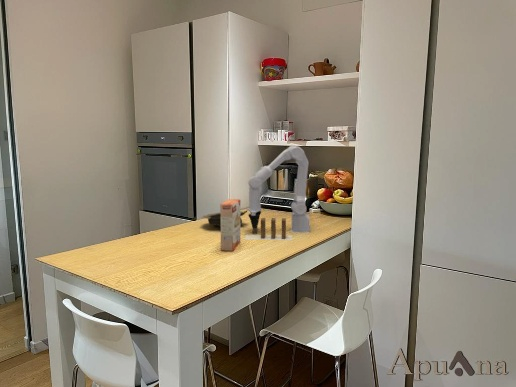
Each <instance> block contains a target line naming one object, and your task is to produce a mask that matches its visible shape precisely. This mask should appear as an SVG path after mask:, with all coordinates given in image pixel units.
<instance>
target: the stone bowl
mask: <svg viewBox="0 0 516 387" xmlns="http://www.w3.org/2000/svg"><path fill="white" fill-rule="evenodd" d="M247 212H248V211H247V210H245V211H241V210H240V226H241V224H242V223H243V219H242V217H243V216H244V215H246V213H247ZM201 218H203V219H207V221H208V224H210V225H212V226H219V227H221V213H220V212H216V213H209V214H207V215H206V214H205V215H202V216H201Z"/></svg>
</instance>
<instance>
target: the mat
mask: <svg viewBox="0 0 516 387" xmlns="http://www.w3.org/2000/svg"><path fill="white" fill-rule="evenodd" d="M243 240H249V241H293V235H292V234H291V235H289V234H288V235H287V234H286V239H282V234H276V237H275V239H271V234H265V239H261V234H245V236H244V237H243Z"/></svg>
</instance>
